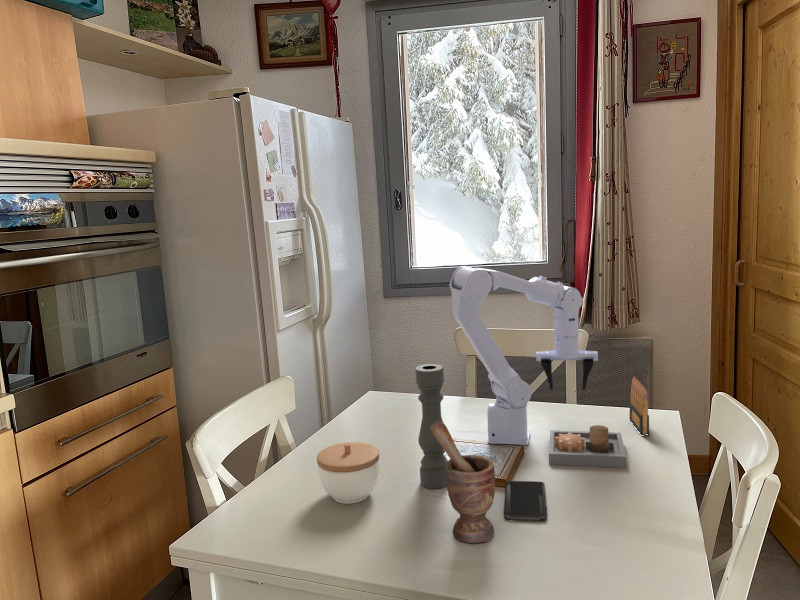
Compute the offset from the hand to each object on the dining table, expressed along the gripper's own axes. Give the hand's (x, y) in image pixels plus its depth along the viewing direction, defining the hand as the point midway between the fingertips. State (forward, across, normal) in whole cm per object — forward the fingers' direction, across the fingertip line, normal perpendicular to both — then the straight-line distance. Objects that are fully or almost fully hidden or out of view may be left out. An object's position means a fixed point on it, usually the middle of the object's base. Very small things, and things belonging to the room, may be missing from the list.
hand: (567, 388), depth 161 cm
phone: (+11, -9, -40) cm, 42 cm away
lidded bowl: (+10, -44, -41) cm, 61 cm away
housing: (+10, +3, -15) cm, 19 cm away
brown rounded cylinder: (+10, +6, -15) cm, 20 cm away
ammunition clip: (+11, +17, +1) cm, 20 cm away
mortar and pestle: (+10, -20, -53) cm, 57 cm away
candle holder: (+10, -28, -33) cm, 45 cm away
